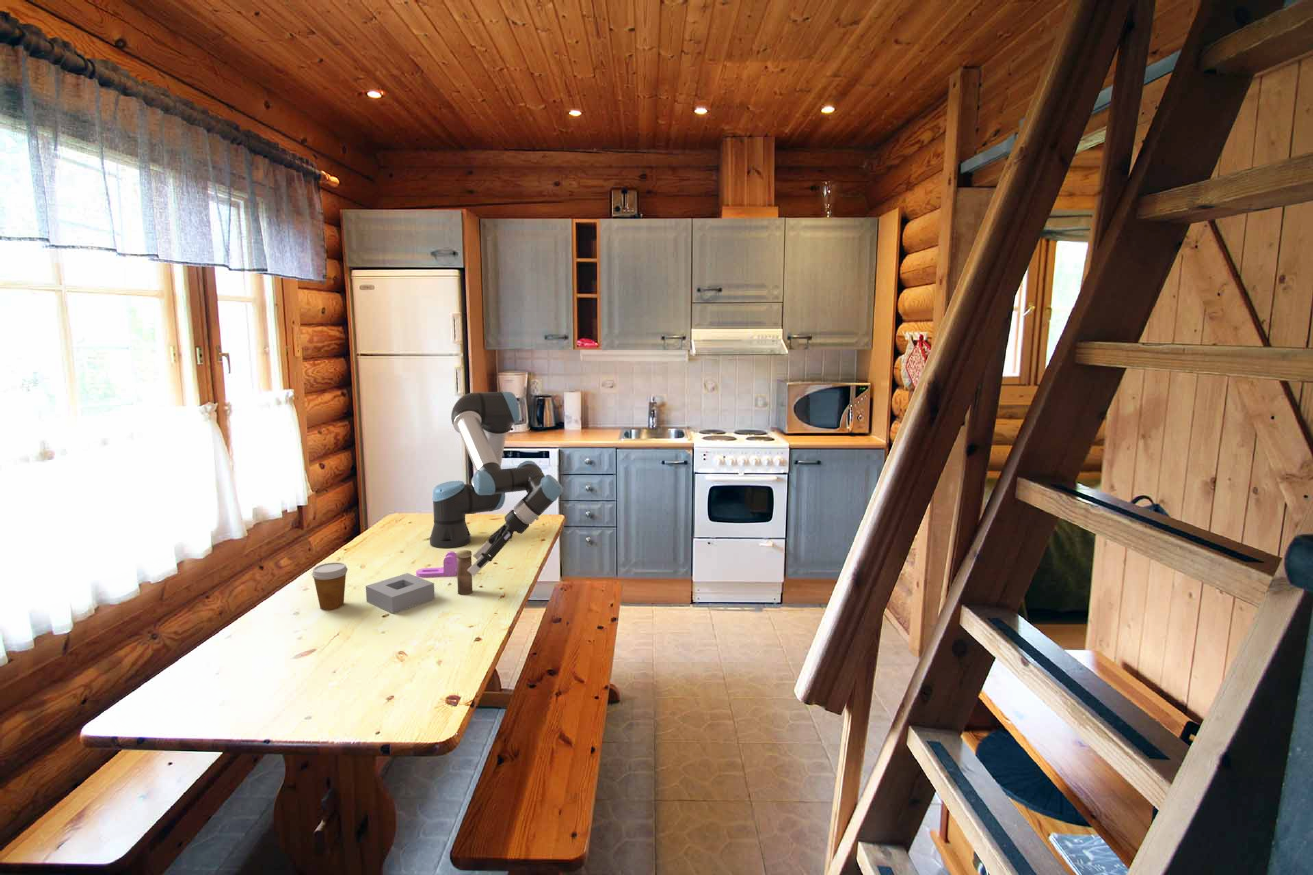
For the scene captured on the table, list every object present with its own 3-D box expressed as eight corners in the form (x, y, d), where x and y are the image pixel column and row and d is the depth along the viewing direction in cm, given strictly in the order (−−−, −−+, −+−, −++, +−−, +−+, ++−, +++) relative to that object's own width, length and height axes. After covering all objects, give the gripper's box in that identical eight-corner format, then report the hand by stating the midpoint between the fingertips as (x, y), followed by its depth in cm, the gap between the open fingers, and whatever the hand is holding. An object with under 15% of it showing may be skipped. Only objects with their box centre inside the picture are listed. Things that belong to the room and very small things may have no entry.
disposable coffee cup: (356, 602, 199) (354, 564, 197) (331, 614, 190) (329, 574, 188) (331, 597, 202) (329, 560, 200) (306, 609, 193) (303, 570, 191)
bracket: (457, 570, 227) (456, 551, 226) (455, 576, 221) (454, 556, 220) (417, 572, 225) (417, 552, 223) (414, 578, 219) (413, 558, 218)
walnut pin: (454, 592, 207) (453, 552, 205) (466, 588, 210) (465, 549, 209) (463, 596, 204) (462, 555, 202) (475, 591, 208) (474, 552, 206)
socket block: (366, 601, 199) (365, 585, 198) (408, 587, 210) (407, 572, 209) (392, 613, 191) (391, 597, 190) (434, 598, 202) (434, 583, 201)
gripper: (528, 536, 194) (478, 587, 194) (531, 514, 218) (486, 559, 218) (509, 519, 192) (458, 571, 192) (515, 499, 217) (469, 545, 217)
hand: (473, 565), depth 205 cm, fingers open, 13 cm apart
